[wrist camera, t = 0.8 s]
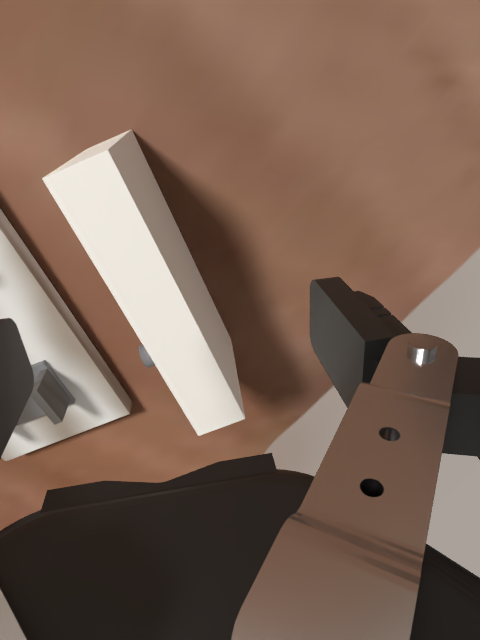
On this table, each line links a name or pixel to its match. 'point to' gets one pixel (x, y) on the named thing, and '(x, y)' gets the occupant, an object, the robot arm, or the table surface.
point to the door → (151, 276)
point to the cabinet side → (52, 356)
